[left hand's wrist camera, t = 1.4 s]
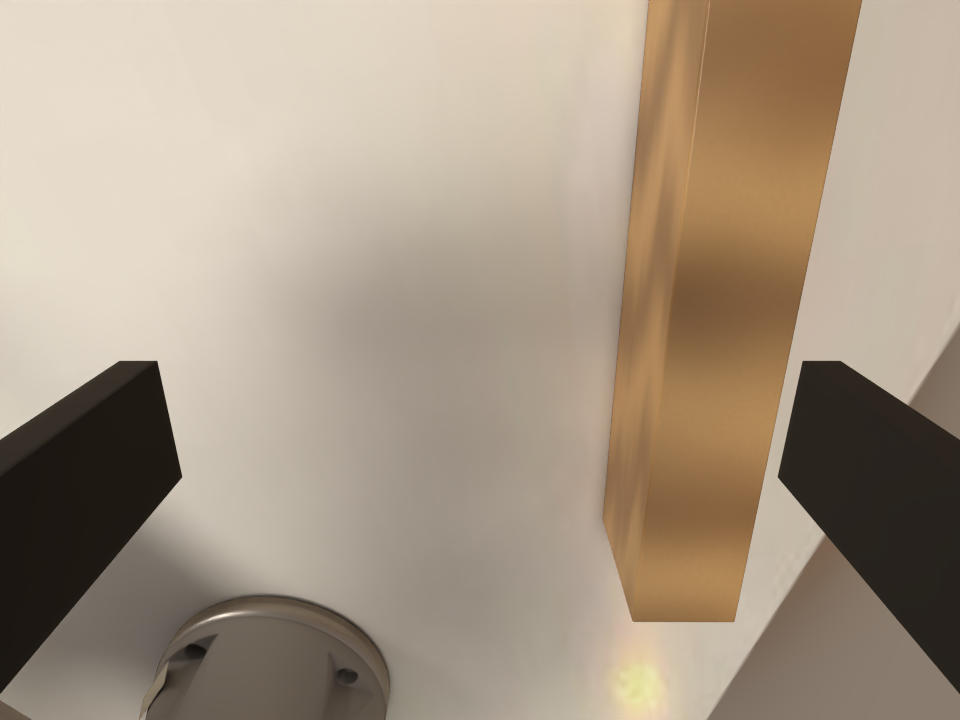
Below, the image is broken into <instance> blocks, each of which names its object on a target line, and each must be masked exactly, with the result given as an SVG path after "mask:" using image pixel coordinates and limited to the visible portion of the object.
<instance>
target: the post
mask: <svg viewBox="0 0 960 720" xmlns="http://www.w3.org/2000/svg"><path fill="white" fill-rule="evenodd" d="M861 3H862V0H649V8H648V19H647V31H646V42H645V53H644V64H643V76H642V87H641V98H640V109H639V121H638V132H637V143H636V154H635V165H634V177H633V188H632V199H631V210H630V222H629V233H628V244H627V255H626V267H625V278H624V289H623V300H622V311H621V323H620V334H619V345H618V356H617V368H616V379H615V390H614V401H613V413H612V424H611V435H610V446H609V457H608V469H607V480H606V491H605V502H604V514H603V522H604V525H605V529H606V532H607V535H608V539H609V542H610V546H611V549H612V553H613V556H614V559H615V563H616V566H617V570H618V573H619V577H620V580H621V583H622V587H623V590H624V594H625V597H626V601H627V604H628V607H629V611H630V614H631V618H632V621H634V622H734V621H735V616H736V611H737V606H738V601H739V596H740V592H741V587H742V582H743V577H744V572H745V567H746V562H747V558H748V553H749V548H750V543H751V538H752V533H753V528H754V524H755V519H756V514H757V509H758V504H759V499H760V494H761V490H762V485H763V480H764V475H765V470H766V465H767V460H768V455H769V451H770V446H771V441H772V436H773V431H774V426H775V421H776V417H777V412H778V407H779V402H780V397H781V392H782V387H783V383H784V378H785V373H786V368H787V363H788V358H789V353H790V349H791V344H792V339H793V334H794V329H795V324H796V319H797V314H798V310H799V305H800V300H801V295H802V290H803V285H804V280H805V276H806V271H807V266H808V261H809V256H810V251H811V246H812V242H813V237H814V232H815V227H816V222H817V217H818V212H819V208H820V203H821V198H822V193H823V188H824V183H825V178H826V173H827V169H828V164H829V159H830V154H831V149H832V144H833V139H834V135H835V130H836V125H837V120H838V115H839V110H840V105H841V101H842V96H843V91H844V86H845V81H846V76H847V71H848V66H849V62H850V57H851V52H852V47H853V42H854V37H855V32H856V28H857V23H858V18H859V13H860V8H861Z"/></svg>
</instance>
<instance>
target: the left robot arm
mask: <svg viewBox="0 0 960 720" xmlns="http://www.w3.org/2000/svg"><path fill="white" fill-rule="evenodd" d="M181 478H182V474H181V469H180V464H179V460H178V455H177V450H176V446H175V441H174V437H173V432H172V427H171V423H170V418H169V413H168V409H167V404H166V399H165V395H164V390H163V386H162V381H161V376H160V372H159V367H158V362H157V361H119V362H117V363H116V364H114V365H113V366H111V367H110V368H108V369H107V370H105V371H104V372H102V373H101V374H99V375H98V376H96V377H95V378H93V379H92V380H90V381H89V382H87V383H85V384H84V385H82V386H81V387H79V388H78V389H76V390H75V391H73V392H72V393H70V394H69V395H67V396H66V397H64V398H63V399H61V400H60V401H58V402H57V403H55V404H54V405H52V406H51V407H49V408H48V409H46V410H45V411H43V412H42V413H40V414H39V415H37V416H36V417H34V418H33V419H31V420H30V421H28V422H27V423H25V424H23V425H22V426H20V427H19V428H17V429H16V430H14V431H13V432H11V433H10V434H8V435H7V436H5V437H4V438H2V439H1V440H0V694H1V692H2V691H3V690H4V689H5V688H6V686H7V685H8V684H9V683H10V682H11V680H12V679H13V678H14V677H15V676H16V674H17V673H18V672H19V671H20V670H21V669H22V667H23V666H24V665H25V664H26V663H27V661H28V660H29V659H30V658H31V657H32V655H33V654H34V653H35V652H36V651H37V649H38V648H39V647H40V646H41V645H42V644H43V642H44V641H45V640H46V639H47V638H48V636H49V635H50V634H51V633H52V632H53V630H54V629H55V628H56V627H57V626H58V624H59V623H60V622H61V621H62V620H63V619H64V617H65V616H66V615H67V614H68V613H69V611H70V610H71V609H72V608H73V607H74V605H75V604H76V603H77V602H78V601H79V599H80V598H81V597H82V596H83V595H84V594H85V592H86V591H87V590H88V589H89V588H90V586H91V585H92V584H93V583H94V582H95V580H96V579H97V578H98V577H99V576H100V574H101V573H102V572H103V571H104V570H105V569H106V567H107V566H108V565H109V564H110V563H111V561H112V560H113V559H114V558H115V557H116V555H117V554H118V553H119V552H120V551H121V549H122V548H123V547H124V546H125V545H126V544H127V542H128V541H129V540H130V539H131V538H132V536H133V535H134V534H135V533H136V532H137V530H138V529H139V528H140V527H141V526H142V524H143V523H144V522H145V521H146V520H147V518H148V517H149V516H150V515H151V514H152V513H153V511H154V510H155V509H156V508H157V507H158V505H159V504H160V503H161V502H162V501H163V499H164V498H165V497H166V496H167V495H168V493H169V492H170V491H171V490H172V489H173V488H174V486H175V485H176V484H177V483H178V482H179V480H180V479H181ZM778 478H779V479H780V480H781V482H782V483H783V484H784V485H785V486H786V488H787V489H788V490H789V491H790V492H791V493H792V495H793V496H794V497H795V498H796V499H797V501H798V502H799V503H800V504H801V505H802V507H803V508H804V509H805V510H806V511H807V513H808V514H809V515H810V516H811V517H812V518H813V520H814V521H815V522H816V523H817V524H818V526H819V527H820V528H821V529H822V530H823V532H824V533H825V534H826V535H827V536H828V538H829V539H830V540H831V541H832V542H833V544H834V545H835V546H836V547H837V548H838V549H839V551H840V552H841V553H842V554H843V555H844V557H845V558H846V559H847V560H848V561H849V562H850V564H851V565H852V566H853V567H854V569H855V570H856V571H857V572H858V573H859V574H860V576H861V577H862V578H863V579H864V580H865V582H866V583H867V584H868V585H869V586H870V588H871V589H872V590H873V591H874V592H875V594H876V595H877V596H878V597H879V598H880V599H881V601H882V602H883V603H884V604H885V605H886V607H887V608H888V609H889V610H890V611H891V612H892V614H893V615H894V616H895V617H896V619H897V620H898V621H899V622H900V623H901V624H902V626H903V627H904V628H905V629H906V630H907V632H908V633H909V634H910V635H911V636H912V638H913V639H914V640H915V641H916V642H917V644H918V645H919V646H920V647H921V648H922V649H923V651H924V652H925V653H926V654H927V655H928V657H929V658H930V659H931V660H932V661H933V663H934V664H935V665H936V666H937V667H938V669H939V670H940V671H941V672H942V673H943V674H944V676H945V677H946V678H947V679H948V680H949V682H950V683H951V684H952V685H953V686H954V688H955V689H956V690H957V691H958V692H959V694H960V440H959V439H958V438H956V437H955V436H953V435H952V434H950V433H949V432H947V431H946V430H944V429H942V428H941V427H940V426H938V425H936V424H935V423H933V422H932V421H930V420H929V419H927V418H926V417H924V416H923V415H921V414H920V413H918V412H917V411H915V410H914V409H912V408H911V407H909V406H908V405H906V404H905V403H903V402H902V401H900V400H899V399H897V398H896V397H894V396H893V395H891V394H890V393H888V392H887V391H885V390H884V389H882V388H881V387H879V386H878V385H876V384H875V383H873V382H871V381H870V380H868V379H867V378H865V377H864V376H862V375H861V374H859V373H858V372H856V371H855V370H853V369H852V368H850V367H849V366H847V365H846V364H844V363H843V362H841V361H803V362H802V367H801V372H800V376H799V381H798V386H797V390H796V395H795V399H794V404H793V409H792V413H791V418H790V423H789V427H788V432H787V437H786V441H785V446H784V450H783V455H782V460H781V464H780V469H779V474H778ZM389 692H390V684H389V677H388V673H387V669H386V666H385V664H384V662H383V660H382V658H381V656H380V654H379V652H378V651H377V650H376V648H375V647H374V645H373V644H372V643H371V642H370V641H369V640H368V638H367V637H366V636H365V635H363V634H362V633H361V632H360V631H359V630H358V629H357V628H355V627H354V626H353V625H352V624H350V623H349V622H347V621H346V620H344V619H342V618H341V617H339V616H337V615H335V614H333V613H331V612H329V611H327V610H325V609H322V608H320V607H317V606H314V605H312V604H308V603H305V602H301V601H296V600H291V599H286V598H278V597H249V598H240V599H235V600H230V601H227V602H223V603H220V604H217V605H214V606H212V607H210V608H208V609H206V610H204V611H202V612H200V613H199V614H197V615H195V616H194V617H193V618H191V619H190V620H189V621H188V622H186V624H185V625H184V626H183V627H182V628H181V629H180V630H179V631H178V633H177V634H176V635H175V637H174V639H173V640H172V642H171V644H170V645H169V647H168V649H167V650H166V652H165V654H164V656H163V657H162V659H161V661H160V663H159V666H158V668H157V672H156V675H155V678H154V682H153V685H152V686H151V688H150V689H149V691H148V692H147V694H146V695H145V697H144V699H143V703H142V708H141V712H140V717H139V720H140V719H141V717H142V716H143V714H144V713H145V711H146V710H147V708H148V711H147V715H146V720H385V717H386V711H387V705H388V699H389ZM0 720H31V719H29V718H28V717H26V716H25V715H23V714H21V713H20V712H18V711H16V710H15V709H13V708H11V707H10V706H8V705H7V704H5V703H3V702H2V701H0Z"/></svg>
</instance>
